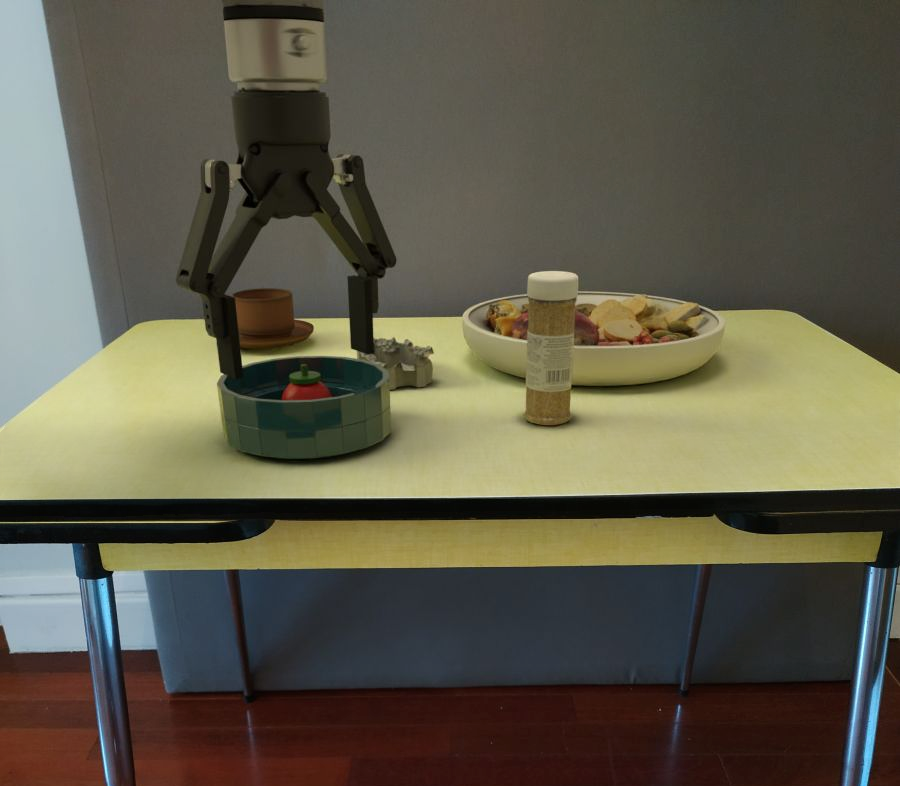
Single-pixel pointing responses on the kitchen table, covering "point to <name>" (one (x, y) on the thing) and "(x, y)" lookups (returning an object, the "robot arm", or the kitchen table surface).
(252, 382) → the dessert bowl
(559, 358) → the spice jar
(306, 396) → the tomato shaped ketchup bottle
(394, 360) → the egg carton
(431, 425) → the kitchen table surface
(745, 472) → the kitchen table surface
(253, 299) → the cup and saucer
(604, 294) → the bowl
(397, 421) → the kitchen table surface
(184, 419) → the kitchen table surface
